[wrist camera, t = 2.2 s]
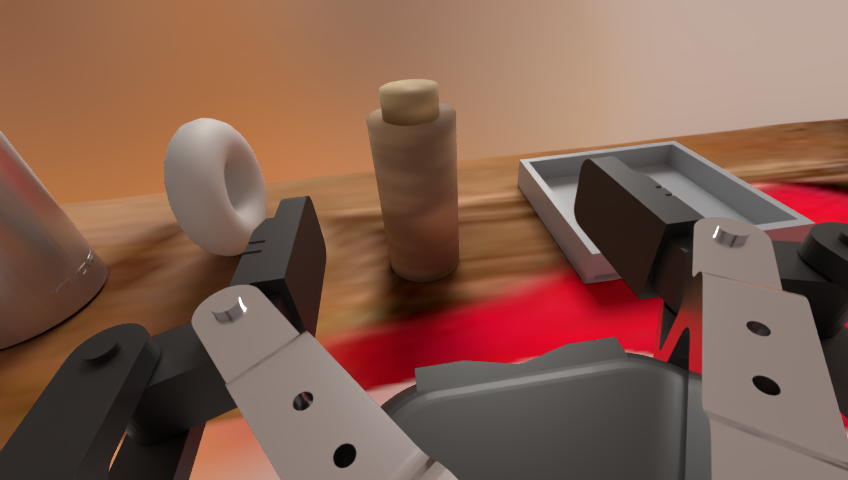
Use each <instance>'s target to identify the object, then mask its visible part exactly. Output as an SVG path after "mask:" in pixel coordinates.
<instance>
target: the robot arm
mask: <svg viewBox="0 0 848 480" xmlns="http://www.w3.org/2000/svg"><path fill="white" fill-rule="evenodd" d="M574 215H575V219H576V222H577V224H578V225H579V227H580V228H581V229H582V230H583V232H584V233H585V234H586V235H587V236H588V238H589V239H590V240H591V241H592V243H593V244H594V245H595V246H596V247H597V249H598V250H599V251H600V252H601V253H602V255H603V256H604V257H605V258H606V260H607V261H608V262H609V263H610V264H611V266H612V267H613V268H614V269H615V270H616V272H617V273H618V274H619V275H620V277H621V278H622V279H623V280H624V281H625V283H626V284H627V285H628V286H629V288H630V289H631V290H632V291H633V292H634V294H635V295H636V296H637V297H638V298H639V299H646V298H652V297H659V296H660V297H661V298H662V299H663V301H662V304H661V306H660V309H659V315H658V323H657V331H656V339H655V348H654V356H653V358H652V357H648V356H644V355H639V354H633V353H626V352H625V351H624V349H623V348H622V346H621V345H620V343H619V342H618V340H617V339H616V337H611V338H605V339H599V340H592V341H586V342H580V343H573V344H567V345H564V346H562V347H560V348H557V349H555V350H553V351H551V352H548V353H546V354H544V355H541V356H539V357H537V358H534V359H532V360H530V361H527V362H525V363H521V364H508V363H493V362H479V361H459V362H452V363H446V364H440V365H433V366H427V367H420V368H415V377H416V385H413V386H411V387H409V388H407V389H405V390H403V391H401V392H400V393H398V394H396V395H395V396H394V397H392V398H391V399H389V400H388V401H387V402H385V403H384V404H383V405H382V406H381V407H379V405H378V404H377V403H376V402H375V401H374V400H373V399H372V398H371V397H370V396H369V395H368V394H367V393H366V392H365V391H364V390H363V389H362V387H361V386H360V385H359V384H358V383H357V382H356V381H355V380H354V379H353V378H352V377H351V376H350V375H349V374H348V373H347V372H346V371H345V370H344V369H343V367H342V366H341V365H340V364H339V363H338V362H337V361H336V360H335V359H334V358H333V357H332V356H331V355H330V354H329V353H328V352H327V351H326V350H325V348H324V347H323V346H322V345H321V344H320V343H319V342H318V341H317V340H316V339H315V333H316V326H317V320H318V313H319V306H320V299H321V292H322V286H323V279H324V272H325V265H326V247H325V242H324V238H323V235H322V232H321V229H320V225H319V222H318V219H317V215H316V212H315V209H314V206H313V203H312V200H311V198H310V197H309V196H304V197H296V198H289V199H282V200H281V202H280V204H279V207H278V209H277V212H276V214H275V217H274V218H269V219H265V220H264V221H263V222H262V223H261V224H260V225H259V226H258V227H257V228H256V229H254V230H253V233H252V235H251V237H250V239H249V242H248V244H249V245H247V246H246V248H245V251H244V255H242V257H241V260H240V262H239V264H238V266H237V269H236V271H235V273H234V275H233V278H232V280H231V282H230V284H229V287H228V288H225V289H223V290H220V291H218V292H216V293H214V294H213V295H211V296H210V297H208V298H207V299H206V300H204V301H203V302H202V303H201V304H200V305H199V306H198V308H197V309H196V311H195V312H194V314H193V317H192V322H190V323H188V324H185V325H183V326H180V327H177V328H175V329H172V330H169V331H166V332H164V333H161V334H158V335H156V336H153V337H151V335H150V334H149V333H148V332H147V330H146V329H145V328H144V327H143V326H141V325H139V324H132V323H128V324H122V325H117V326H114V327H111V328H108V329H106V330H104V331H102V332H100V333H98V334H96V335H94V336H92V337H91V338H89V339H88V340H86V341H85V342H83V343H82V344H81V345H80V346H78V347H77V348H76V349H75V350H74V351H73V352H72V353H71V354H70V355H69V356H68V358H67V359H66V360H65V362H64V363H63V364H62V366H61V367H60V369H59V370H58V371H57V373H56V374H55V376H54V377H53V378H52V380H51V381H50V383H49V384H48V386H47V387H46V388H45V390H44V391H43V393H42V394H41V395H40V397H39V398H38V400H37V401H36V402H35V404H34V405H33V407H32V408H31V409H30V411H29V412H28V414H27V415H26V416H25V418H24V419H23V421H22V422H21V423H20V425H19V426H18V428H17V429H16V430H15V432H14V433H13V435H12V436H11V437H10V439H9V440H8V442H7V443H6V444H5V446H4V447H3V449H2V450H1V451H0V480H189V478H190V474H191V471H192V468H193V464H194V461H195V457H196V454H197V451H198V448H199V444H200V441H201V438H202V434H203V431H204V428H205V424H206V421H208V420H210V419H213V418H215V417H217V416H219V415H221V414H224V413H226V412H228V411H230V410H232V409H235V408H237V407H238V408H239V410H240V411H241V413H242V415H243V416H244V418H245V420H246V422H247V423H248V425H249V426H250V428H251V430H252V432H253V433H254V435H255V437H256V438H257V440H258V442H259V443H260V445H261V447H262V449H263V450H264V452H265V454H266V455H267V457H268V459H269V460H270V462H271V464H272V465H273V467H274V469H275V471H276V472H277V474H278V476H279V477H280V479H281V480H848V439H847V435H846V432H845V428H844V424H843V421H842V417H841V414H840V412H841V413H842V414H843V415H844V416H845V417H846V418H847V419H848V328H847V327H846V326H845V325H846V323H847V322H848V224H846V223H837V222H825V223H819V224H816V225H814V226H813V227H812V228H811V229H810V231H809V233H808V234H807V236H806V237H805V239H804V240H803V242H791V241H773V240H771V239H770V237H769V236H768V235H767V234H766V233H765V232H764V231H762V230H761V229H759V228H757V227H755V226H753V225H751V224H749V223H746V222H743V221H740V220H736V219H731V218H725V217H708V218H705V217H704V216H702V215H701V214H700V213H698V212H697V211H696V210H694V209H693V208H691V207H690V206H689V205H687V204H686V203H685V202H683V201H682V200H681V199H679V198H678V197H676V196H675V195H673V196H672V193H671V192H670V191H668V190H667V189H666V188H662V186H661V185H660V184H659V183H657V182H656V181H655V180H653V179H652V178H651V177H649V176H647V175H644V174H642V173H639V172H636V171H634V170H632V169H631V168H629V167H628V166H627V165H625V164H624V163H623V162H621V161H620V160H619V159H617V158H616V157H615V156H606V157H598V158H591V159H586V160H585V161H584V162H583V163H582V166H581V170H580V175H579V181H578V187H577V192H576V198H575V203H574ZM107 275H108V269H107V267H106V265H105V264H104V262H103V261H102V260H101V259H100V257H99V256H98V255H97V253H96V252H95V251H94V250H93V248H92V247H91V246H90V244H89V243H88V242H87V241H86V239H85V238H84V237H83V235H82V234H81V233H80V232H79V230H78V229H77V228H76V226H75V225H74V223H73V222H72V221H71V220H70V218H69V217H68V216H67V215H66V213H65V212H64V211H63V209H62V208H61V207H60V206H59V204H58V203H57V202H56V201H55V199H54V198H53V197H52V195H51V194H50V193H49V192H48V190H47V189H46V188H45V187H44V185H43V184H42V183H41V182H40V180H39V179H38V178H37V176H36V175H35V174H34V173H33V171H32V170H31V169H30V167H29V166H28V165H27V164H26V162H25V161H24V160H23V159H22V157H21V156H20V155H19V153H18V152H17V151H16V150H15V148H14V147H13V146H12V145H11V143H10V142H9V141H8V140H7V138H6V137H5V136H4V134H3V133H2V132H1V131H0V349H3V348H6V347H9V346H12V345H14V344H17V343H20V342H23V341H25V340H27V339H29V338H32V337H34V336H36V335H38V334H40V333H42V332H44V331H46V330H48V329H50V328H51V327H53V326H55V325H57V324H59V323H60V322H62V321H63V320H65V319H66V318H68V317H69V316H71V315H72V314H74V313H75V312H77V311H78V310H79V309H80V308H82V307H83V306H84V305H85V304H86V303H88V302H89V301H90V300H91V299H92V298H93V297H94V296H95V295H96V294H97V293H98V292H99V290H100V289H101V287H102V286H103V284H104V283H105V281H106V278H107ZM124 432H126V433H127V434H126V436H125V438H124V441H123V443H122V445H121V447H120V449H119V451H118V453H117V456H116V458H115V460H114V462H113V464H112V467H111V468H110V471H109V466H110V463H111V460H112V457H113V455H114V453H115V451H116V449H117V447H118V445H119V442H120V440H121V438H122V436H123V434H124Z"/></svg>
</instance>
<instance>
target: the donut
mask: <svg viewBox="0 0 848 480" xmlns="http://www.w3.org/2000/svg"><path fill="white" fill-rule="evenodd" d="M164 177H165V187H166V191H167V195H168V199H169V203H170V206H171V209H172V211H173V213H174V215H175V217H176V219H177V221H178V224H179V225H180V226H181V228H182V229H183V230H184V232H185V233H186V234H187V235H188V237H189V238H190V239H191V240H192V241H193V242H194V243H195V244H197V245H198V246H200V247H201V248H202V249H204V250H205V251H207V252H209V253H212V254H216V255H222V256H235V255H239V254H241V253H243V252H244V251H245V248H246V246H247V245H249V244H248V242H249V239H250V237H251V235H252V233H253V230H254V229H256V228H257V227H258V226H259V225H260V224H261V223H262V222H263V221H264V220H265V219H266V214H267V196H266V189H265V183H264V178H263V175H262V172H261V169H260V166H259V163H258V161H257V159H256V157H255V155H254V153H253V151H252V149H251V147H250V146H249V144H248V143H247V141H246V140H245V139H244V138H243V136H242V135H241V134H240V133H238V132H237V131H236V130H235V129H234V128H232V127H231V126H230V125H229V124H226V123H224V122H221V121H218V120H214V119H210V118H201V119H197V120H194V121H192V122H189V123H186V124H184V125H183V126H181V127H180V128H179V129H178V130H177V132H176V133H175V135H174V136H173V137H172V139H171V140H170V142H169V145H168V148H167V153H166V157H165V161H164Z"/></svg>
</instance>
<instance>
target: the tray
mask: <svg viewBox="0 0 848 480" xmlns="http://www.w3.org/2000/svg"><path fill="white" fill-rule="evenodd" d="M606 156H615V157H616V158H617V159H619V160H620V161H621V162H623V163H624V164H625V165H627V166H628V167H629V168H631V169H632V170H634V171H636V172H639V173H642V174H644V175H647V176H649V177H651V178H652V179H653V180H655V181H656V182H657V183H659V184H660V185H661V186H662V188H666V189H667V190H668V191H670V192H671V193H672V196H673V195H675V196H676V197H678V198H679V199H681V200H682V201H683V202H685V203H686V204H687V205H689V206H690V207H691V208H693V209H694V210H696V211H697V212H698V213H700V214H701V215H702V216H704V217H705V218H708V217H725V218H731V219H736V220H740V221H743V222H746V223H749V224H751V225H753V226H755V227H757V228H759V229H761V230H762V231H764V232H765V233H766V234H767V235H768V236H769V237H770V239H771V240H773V241H791V242H803V240H804V239H805V237H806V236H807V234H808V233H809V231H810V229H811V228H812V227H813V226H814V225H815V224H816V223H815V222H813V221H811V220H810V219H808V218H806V217H804V216H803V215H801V214H799V213H797V212H796V211H794V210H792V209H791V208H789V207H787V206H785V205H784V204H782V203H780V202H779V201H777V200H775V199H773V198H772V197H770V196H768V195H767V194H765V193H763V192H761V191H760V190H758V189H756V188H755V187H753V186H751V185H749V184H748V183H746V182H744V181H743V180H741V179H739V178H737V177H736V176H734V175H732V174H731V173H729V172H727V171H725V170H724V169H722V168H720V167H719V166H717V165H715V164H713V163H712V162H710V161H708V160H707V159H705V158H703V157H701V156H700V155H698V154H696V153H695V152H693V151H691V150H689V149H688V148H686V147H684V146H683V145H681V144H679V143H677V142H676V141H669V142H661V143H653V144H645V145H637V146H629V147H621V148H613V149H604V150H596V151H588V152H580V153H572V154H564V155H556V156H548V157H539V158H531V159H523V160H520V164H519V175H518V186H519V188H520V189H521V191H522V192H523V194H524V195H525V196H526V198H527V199H528V201H529V202H530V204H531V205H532V207H533V208H534V210H535V211H536V213H537V214H538V216H539V217H540V219H541V220H542V222H543V223H544V225H545V226H546V228H547V229H548V231H549V232H550V234H551V235H552V237H553V238H554V240H555V241H556V243H557V244H558V246H559V247H560V249H561V250H562V251H563V253H564V254H565V256H566V257H567V259H568V260H569V262H570V263H571V265H572V266H573V268H574V269H575V271H576V272H577V274H578V275H579V277H580V278H581V280H582V281H583V283H584V284H589V283H596V282H603V281H610V280H617V279H622V278H621V277H620V275H619V274H618V273H617V272H616V270H615V269H614V268H613V267H612V266H611V264H610V263H609V262H608V261H607V260H606V258H605V257H604V256H603V255H602V253H601V252H600V251H599V250H598V249H597V247H596V246H595V245H594V244H593V243H592V241H591V240H590V239H589V238H588V236H587V235H586V234H585V233H584V232H583V230H582V229H581V228H580V227H579V225H578V224H577V222H576V219H575V215H574V203H575V198H576V192H577V187H578V181H579V175H580V170H581V166H582V163H583V162H584V161H585V160H586V159H591V158H598V157H606Z"/></svg>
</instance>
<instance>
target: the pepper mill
mask: <svg viewBox="0 0 848 480" xmlns="http://www.w3.org/2000/svg"><path fill="white" fill-rule="evenodd" d="M379 96H380V104H381V108H380V109H377V110H375V111H374V112H372V113H371V114H370V115H369V116H368V117H367V120H366V121H367V127H368V133H369V138H370V144H371V150H372V155H373V162H374V168H375V174H376V180H377V186H378V192H379V197H380V203H381V209H382V215H383V221H384V227H385V233H386V239H387V245H388V251H389V257H390V262H391V267H392V269H393V271H394V272H395V273H396V274H397V275H398V276H400V277H401V278H403V279H406V280H409V281H413V282H431V281H436V280H439V279H441V278H444V277H446V276H447V275H449V274H450V273H451V272H453V271H454V269H455V268H456V267H457V265H458V262H459V236H458V190H457V146H456V145H457V144H456V111H455V110H454V108H452V107H451V106H449V105H446V104H443V103H439V91H438V83H436V82H434V81H431V80H425V79H409V80H401V81H395V82H392V83H388V84H386V85H383V86H382V87H380V89H379Z"/></svg>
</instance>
